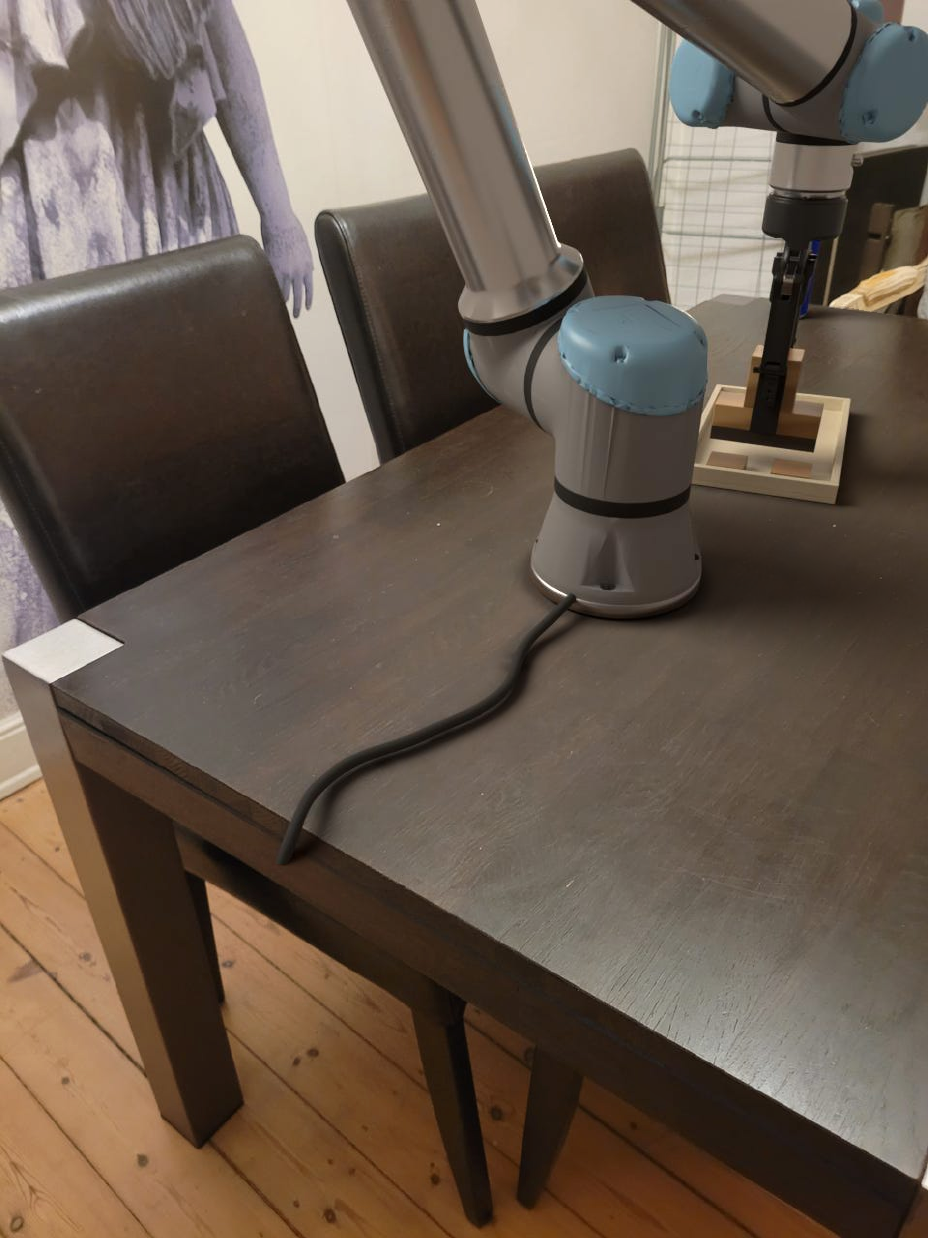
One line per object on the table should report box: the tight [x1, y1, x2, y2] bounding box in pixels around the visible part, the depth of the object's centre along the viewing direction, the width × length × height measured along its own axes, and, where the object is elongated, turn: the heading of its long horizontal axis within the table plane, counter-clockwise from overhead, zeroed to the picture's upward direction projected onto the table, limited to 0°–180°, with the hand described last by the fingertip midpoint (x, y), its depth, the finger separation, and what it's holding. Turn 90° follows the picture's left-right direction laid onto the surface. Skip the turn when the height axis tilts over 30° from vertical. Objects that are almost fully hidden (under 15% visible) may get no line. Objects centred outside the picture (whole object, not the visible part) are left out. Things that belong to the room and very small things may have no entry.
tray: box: [691, 383, 852, 505], centre depth 109 cm, size 28×17×2 cm, turn 158°
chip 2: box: [770, 459, 813, 479], centre depth 99 cm, size 4×4×2 cm
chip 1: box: [706, 451, 748, 470], centre depth 101 cm, size 4×4×2 cm
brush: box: [710, 344, 824, 453], centre depth 100 cm, size 4×11×10 cm, turn 68°
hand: (765, 423), depth 101 cm, fingers closed on brush, 4 cm apart
